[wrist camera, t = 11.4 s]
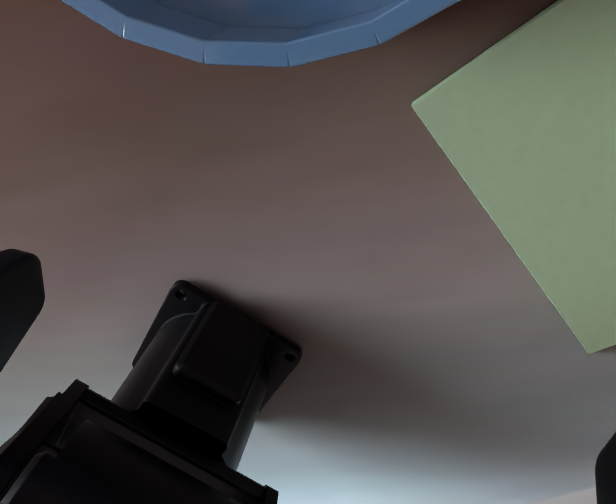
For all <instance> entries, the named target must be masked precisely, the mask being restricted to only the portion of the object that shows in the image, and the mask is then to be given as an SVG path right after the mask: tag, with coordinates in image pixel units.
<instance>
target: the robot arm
mask: <svg viewBox="0 0 616 504" xmlns="http://www.w3.org/2000/svg"><path fill="white" fill-rule="evenodd" d="M180 290H181V291H183V292H185V294H183V293H181V292H180ZM44 300H45V292H44V284H43V277H42V269H41V262H40V260H39V258H38V257H37V256H36V255H34V254H31V253H28V252H24V251H20V250H17V249H7V250H4V251H0V372H1V371H2V369H3V367H4V366H5V364H6V363H7V361H8V360H9V358H10V357H11V355H12V354H13V352H14V351H15V349H16V348H17V346H18V345H19V343H20V342H21V340H22V339H23V337H24V336H25V334H26V333H27V331H28V330H29V328H30V327H31V325H32V323H33V322H34V320H35V319H36V317H37V316H38V314H39V313H40V311H41V309H42V307H43V304H44ZM288 353H292V354H293V355H289V354H288ZM301 356H302V350H301V348H300V347H299V346H298V345H297V344H295V343H293V342H292V341H290V340H288V339H286V338H285V337H283V336H281V335H279V334H278V333H276V332H274V331H272V330H271V329H269V328H267V327H266V326H264V325H262V324H260V323H259V322H257V321H255V320H253V319H252V318H250V317H248V316H246V315H245V314H243V313H241V312H239V311H238V310H236V309H234V308H233V307H231V306H229V305H227V304H226V303H224V302H222V301H220V300H219V299H217V298H215V297H213V296H212V295H210V294H208V293H207V292H205V291H203V290H201V289H200V288H198V287H196V286H194V285H193V284H191V283H189V282H187V281H184V280H179V281H176V282H175V284H174V285H173V286H172V288H171V289H170V291H169V293H168V295H167V297H166V299H165V300H164V302H163V304H162V306H161V308H160V310H159V312H158V314H157V316H156V318H155V320H154V322H153V324H152V326H151V328H150V329H149V331H148V333H147V335H146V337H145V339H144V341H143V343H142V345H141V347H140V349H139V351H138V353H137V355H136V356H135V358H134V360H133V363H132V365H133V369H132V371H131V372H130V374H129V375H128V377H127V378H126V379H125V381H124V382H123V384H122V385H121V387H120V388H119V390H118V391H117V393H116V394H115V395H114V397H113V398H112V400H111V401H110V400H108V399H106V398H105V397H103V396H101V395H99V394H97V393H96V392H94V391H92V390H90V389H88V388H89V386H88V385H87V384H85V383H83V382H81V381H79V380H78V379H76V380H75V381H74V382H73V383H72V384H71V385H70V386H69V387H68V388H67V390H66V391H65V392H64V393H63V394H62V393H60V392H58V393H57V394H56V395H55V396H54V397H46V399H45V400H44V401H43V402H42V404H41V405H40V406H39V407H38V408H37V410H36V411H35V412H34V413H33V414H32V416H31V417H30V418H29V419H28V420H27V422H26V423H25V424H24V425H23V426H22V427H21V428H20V429H19V431H18V432H17V433H15V434H14V435H13V436H12V437H11V438H10V439H9V440H8V441H6V442H5V443H4V444H3V445H2V446H0V504H277V500H278V491H276V490H274V489H273V488H271V487H269V486H267V485H265V486H262V485H260V484H259V483H257V482H255V481H253V480H252V479H250V478H248V477H246V476H244V475H243V474H241V473H239V472H237V471H236V470H237V467H238V465H239V462H240V460H241V457H242V454H243V452H244V449H245V446H246V444H247V441H248V438H249V436H250V433H251V430H252V428H253V425H254V422H255V420H256V417H257V414H258V412H259V411H260V410H261V409H262V407H263V406H264V405H265V404H266V402H267V401H268V400H269V399H270V397H271V396H272V395H273V394H274V393H275V391H276V390H277V389H278V388H279V386H280V385H281V384H282V383H283V382H284V380H285V379H286V378H287V377H288V375H289V374H290V373H291V372H292V371H293V369H294V368H295V367H296V366H297V364H298V363H299V361H300V359H301ZM595 477H596V495H597V504H616V432H615V434H614V435H613V436H612V437H611V439H610V440H609V441H608V443H607V444H606V445H605V447H604V448H603V449H602V451H601V452H600V454H599V455H598V458H597V461H596V466H595Z"/></svg>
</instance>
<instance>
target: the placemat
mask: <svg viewBox="0 0 616 504" xmlns="http://www.w3.org/2000/svg"><path fill="white" fill-rule="evenodd" d="M412 107H413V109H414V110H415V112H416V113H417V114H418V116H419V117H420V119H421V120H422V121H423V123H424V124H425V126H426V127H427V128H428V130H429V131H430V133H431V134H432V135H433V137H434V138H435V140H436V141H437V142H438V144H439V145H440V147H441V148H442V150H443V151H444V152H445V154H446V155H447V157H448V158H449V159H450V161H451V162H452V164H453V165H454V166H455V168H456V169H457V171H458V172H459V173H460V175H461V176H462V178H463V179H464V180H465V182H466V183H467V185H468V186H469V187H470V189H471V190H472V192H473V193H474V194H475V196H476V197H477V199H478V200H479V201H480V203H481V204H482V206H483V207H484V208H485V210H486V211H487V213H488V214H489V215H490V217H491V218H492V220H493V221H494V222H495V224H496V225H497V227H498V228H499V229H500V231H501V232H502V234H503V235H504V236H505V238H506V239H507V241H508V242H509V243H510V245H511V246H512V248H513V249H514V251H515V252H516V253H517V255H518V256H519V258H520V259H521V260H522V262H523V263H524V265H525V266H526V267H527V269H528V270H529V272H530V273H531V274H532V276H533V277H534V279H535V280H536V281H537V283H538V284H539V286H540V287H541V288H542V290H543V291H544V293H545V294H546V295H547V297H548V298H549V300H550V301H551V302H552V304H553V305H554V307H555V308H556V309H557V311H558V312H559V314H560V315H561V316H562V318H563V319H564V321H565V322H566V323H567V325H568V326H569V328H570V329H571V330H572V332H573V333H574V335H575V336H576V337H577V339H578V340H579V342H580V343H581V344H582V346H583V347H584V349H585V350H586V352H587V353H588V354H592V353H595V352H598V351H600V350H603V349H606V348H609V347H611V346H614V345H616V0H558V1H556V2H555V3H553V4H552V5H550V6H549V7H548V8H546V9H545V10H543V11H542V12H540V13H539V14H538V15H536V16H535V17H533V18H532V19H530V20H529V21H528V22H526V23H525V24H523V25H522V26H520V27H519V28H518V29H516V30H515V31H513V32H512V33H510V34H509V35H508V36H506V37H505V38H503V39H502V40H500V41H499V42H498V43H496V44H495V45H493V46H492V47H490V48H489V49H488V50H486V51H485V52H483V53H482V54H480V55H479V56H477V57H476V58H475V59H473V60H472V61H470V62H469V63H467V64H466V65H465V66H463V67H462V68H460V69H459V70H457V71H456V72H455V73H453V74H452V75H450V76H449V77H447V78H446V79H445V80H443V81H442V82H440V83H439V84H437V85H436V86H435V87H433V88H432V89H430V90H429V91H427V92H426V93H425V94H423V95H422V96H420V97H419V98H417V99H416V100H415V101H413V102H412Z"/></svg>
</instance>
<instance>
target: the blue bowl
mask: <svg viewBox="0 0 616 504" xmlns="http://www.w3.org/2000/svg"><path fill="white" fill-rule="evenodd" d="M61 1H63V2H65V3H66V4H68V5H69V6H71V7H73V8H74V9H76V10H77V11H79V12H81V13H82V14H84V15H86V16H87V17H89V18H90V19H92V20H94V21H95V22H97V23H98V24H100V25H102V26H103V27H105V28H107V29H108V30H110V31H111V32H113V33H115V34H116V35H118V36H119V37H123V38H125V39H127V40H130V41H134V42H137V43H140V44H143V45H146V46H149V47H152V48H155V49H159V50H162V51H165V52H168V53H171V54H174V55H177V56H180V57H184V58H187V59H190V60H193V61H196V62H199V63H205V64H208V65H235V66H262V67H290V66H291V67H295V66H299V65H303V64H307V63H311V62H315V61H319V60H323V59H327V58H331V57H335V56H339V55H343V54H347V53H351V52H355V51H359V50H363V49H367V48H371V47H375V46H378V45H379V43H380V44H383V43H385V42H387V41H389V40H390V39H392V38H394V37H396V36H398V35H399V34H401V33H403V32H405V31H406V30H408V29H410V28H412V27H414V26H415V25H417V24H419V23H421V22H423V21H424V20H426V19H428V18H430V17H432V16H433V15H435V14H437V13H439V12H440V11H442V10H444V9H446V8H448V7H449V6H451V5H453V4H455V3H457V2H458V1H460V0H61Z"/></svg>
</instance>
